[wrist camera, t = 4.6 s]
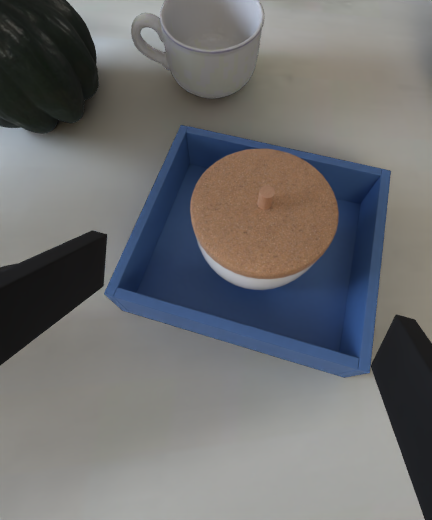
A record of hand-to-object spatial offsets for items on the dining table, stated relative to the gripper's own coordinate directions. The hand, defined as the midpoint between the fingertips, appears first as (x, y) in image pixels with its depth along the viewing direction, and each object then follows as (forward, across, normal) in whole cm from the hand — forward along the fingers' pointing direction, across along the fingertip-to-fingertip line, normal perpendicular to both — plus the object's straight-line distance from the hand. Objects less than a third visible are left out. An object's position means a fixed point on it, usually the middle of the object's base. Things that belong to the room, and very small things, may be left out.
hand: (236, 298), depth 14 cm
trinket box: (+16, 0, -3) cm, 16 cm away
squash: (+25, -28, +5) cm, 38 cm away
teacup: (+31, -12, +11) cm, 35 cm away
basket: (+16, 0, -3) cm, 16 cm away
